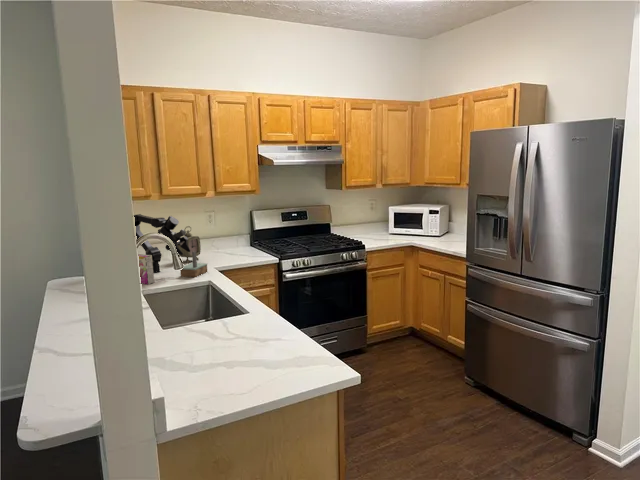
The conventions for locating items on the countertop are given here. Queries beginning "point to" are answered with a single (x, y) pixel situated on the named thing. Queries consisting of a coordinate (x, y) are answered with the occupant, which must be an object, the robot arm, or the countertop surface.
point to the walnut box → (193, 272)
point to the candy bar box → (146, 269)
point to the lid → (194, 263)
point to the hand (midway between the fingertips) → (186, 253)
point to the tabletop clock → (191, 246)
